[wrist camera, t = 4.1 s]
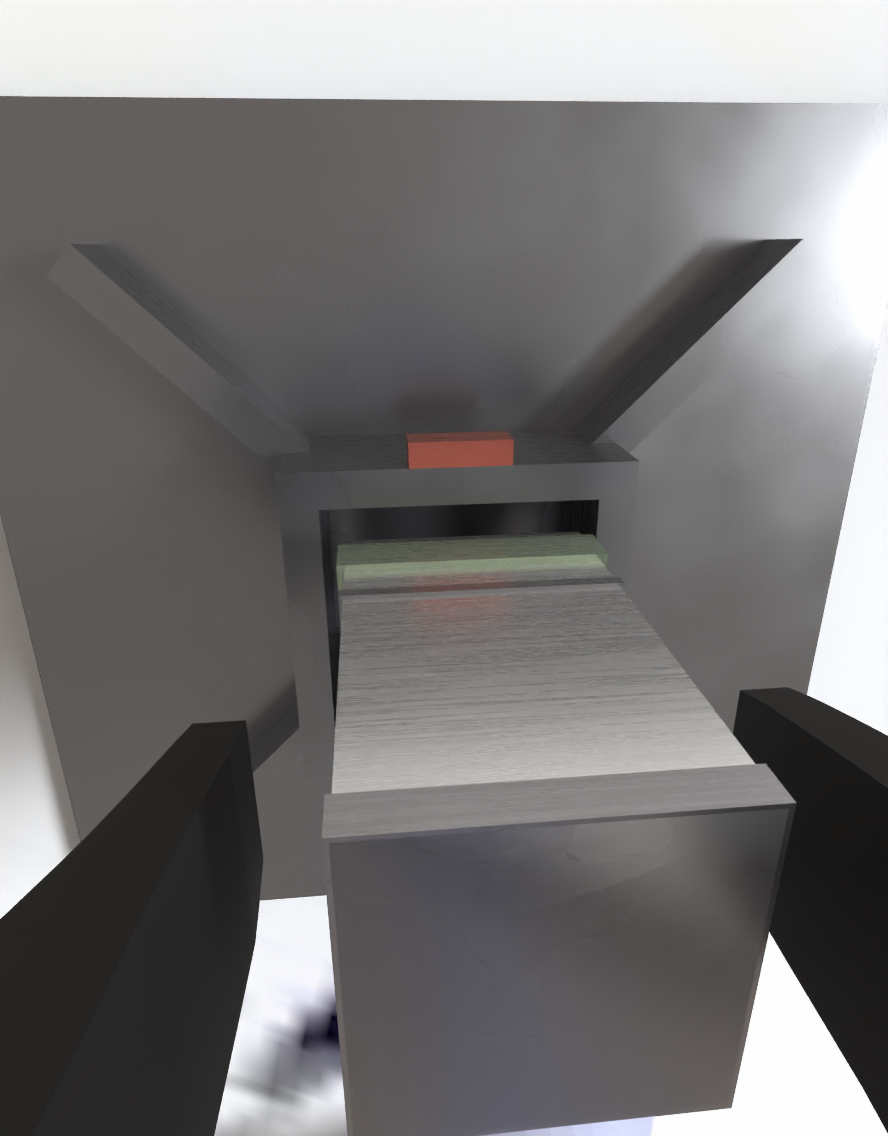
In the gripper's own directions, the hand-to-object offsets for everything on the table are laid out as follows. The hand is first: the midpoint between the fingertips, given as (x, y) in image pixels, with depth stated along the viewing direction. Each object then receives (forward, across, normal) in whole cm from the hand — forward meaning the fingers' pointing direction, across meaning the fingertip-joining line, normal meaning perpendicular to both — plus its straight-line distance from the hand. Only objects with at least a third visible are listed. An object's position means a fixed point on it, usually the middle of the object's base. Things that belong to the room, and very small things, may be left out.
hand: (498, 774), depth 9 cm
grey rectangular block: (+4, 0, 0) cm, 4 cm away
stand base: (+7, 0, 0) cm, 7 cm away
